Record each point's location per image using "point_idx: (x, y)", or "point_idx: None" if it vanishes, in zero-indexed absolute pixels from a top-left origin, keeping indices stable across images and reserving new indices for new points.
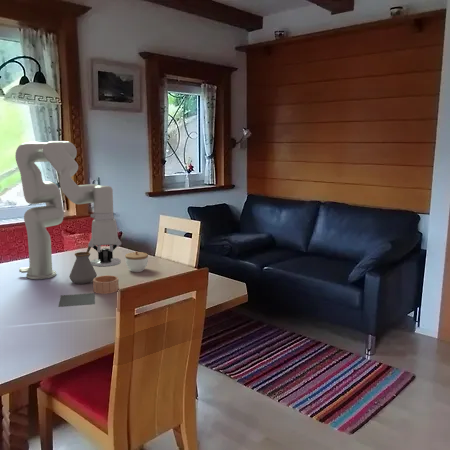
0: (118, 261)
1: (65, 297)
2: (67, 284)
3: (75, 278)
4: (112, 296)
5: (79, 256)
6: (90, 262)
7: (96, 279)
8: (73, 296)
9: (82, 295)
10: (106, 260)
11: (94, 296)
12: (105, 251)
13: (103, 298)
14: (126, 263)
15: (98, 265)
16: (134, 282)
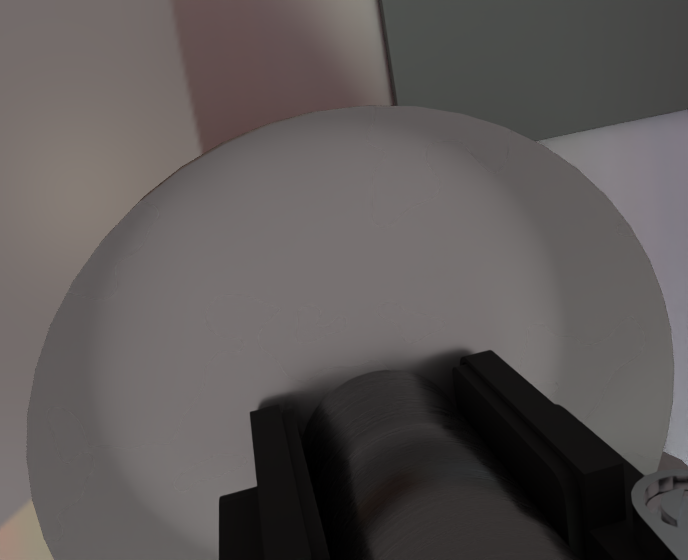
0: (67, 428)
1: (674, 30)
2: (684, 447)
3: (662, 455)
4: (193, 72)
5: None
6: (670, 335)
7: None
8: (604, 59)
9: (521, 86)
10: (358, 393)
11: (392, 43)
12: (457, 538)
13: (284, 4)
14: None
15: (490, 123)
16: (46, 557)
